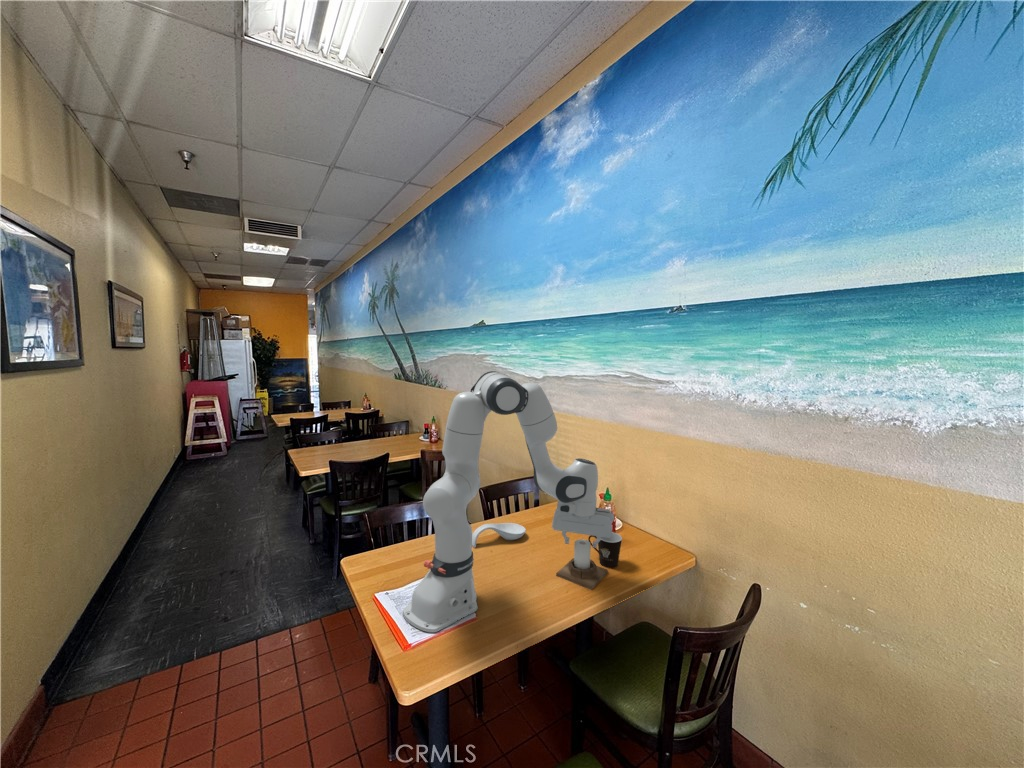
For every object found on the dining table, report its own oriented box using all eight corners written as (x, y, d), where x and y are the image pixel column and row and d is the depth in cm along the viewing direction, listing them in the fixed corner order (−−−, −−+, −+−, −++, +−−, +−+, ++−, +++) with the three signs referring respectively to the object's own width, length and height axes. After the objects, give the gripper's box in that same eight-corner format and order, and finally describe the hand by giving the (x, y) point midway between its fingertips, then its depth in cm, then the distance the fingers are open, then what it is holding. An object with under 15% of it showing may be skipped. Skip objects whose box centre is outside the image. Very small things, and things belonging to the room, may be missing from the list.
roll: (581, 577, 128) (582, 548, 128) (570, 570, 133) (571, 541, 132) (593, 572, 131) (593, 543, 131) (581, 565, 136) (582, 537, 135)
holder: (591, 590, 123) (591, 579, 123) (556, 575, 131) (556, 565, 131) (607, 572, 134) (608, 562, 133) (574, 560, 141) (574, 551, 141)
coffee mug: (626, 566, 138) (627, 539, 137) (608, 572, 134) (609, 544, 133) (603, 551, 148) (604, 526, 147) (586, 557, 144) (586, 531, 143)
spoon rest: (516, 528, 167) (516, 512, 167) (531, 540, 157) (531, 522, 157) (466, 540, 156) (466, 523, 155) (478, 553, 146) (478, 535, 145)
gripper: (614, 506, 132) (611, 545, 133) (554, 499, 136) (552, 536, 137) (614, 513, 126) (612, 554, 127) (552, 505, 130) (550, 545, 131)
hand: (580, 545), depth 132 cm, fingers open, 8 cm apart
